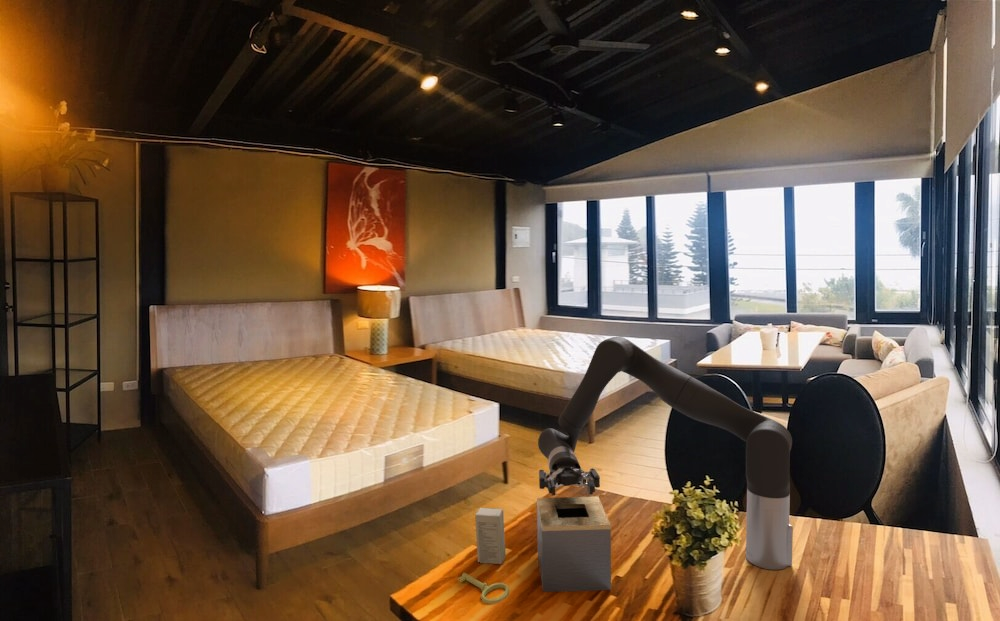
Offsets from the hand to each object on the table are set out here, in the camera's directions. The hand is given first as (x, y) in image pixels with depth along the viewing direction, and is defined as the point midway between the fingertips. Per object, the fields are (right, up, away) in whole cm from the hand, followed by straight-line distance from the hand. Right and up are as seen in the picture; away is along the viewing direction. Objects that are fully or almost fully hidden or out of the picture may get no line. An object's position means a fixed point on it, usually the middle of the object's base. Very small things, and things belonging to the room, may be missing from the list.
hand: (572, 490), depth 132 cm
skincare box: (-19, -20, +11) cm, 29 cm away
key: (-20, -22, -2) cm, 30 cm away
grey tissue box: (0, -20, +4) cm, 21 cm away
